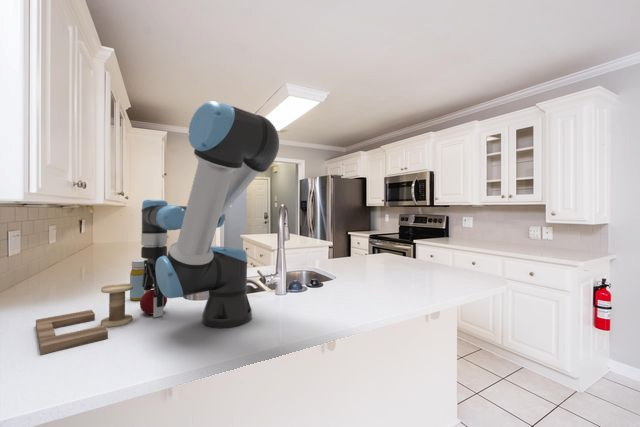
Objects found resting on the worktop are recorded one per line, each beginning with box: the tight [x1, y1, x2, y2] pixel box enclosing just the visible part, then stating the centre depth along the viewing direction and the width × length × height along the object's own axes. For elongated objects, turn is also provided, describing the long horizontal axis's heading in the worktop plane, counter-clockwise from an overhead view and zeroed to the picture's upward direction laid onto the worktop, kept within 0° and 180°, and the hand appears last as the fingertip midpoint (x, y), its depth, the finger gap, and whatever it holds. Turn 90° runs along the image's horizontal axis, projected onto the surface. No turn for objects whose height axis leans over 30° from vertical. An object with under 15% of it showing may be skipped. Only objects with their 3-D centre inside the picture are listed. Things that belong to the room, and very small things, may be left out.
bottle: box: [129, 258, 147, 302], centre depth 114 cm, size 7×7×15 cm
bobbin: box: [100, 282, 133, 328], centre depth 90 cm, size 8×8×11 cm
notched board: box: [35, 309, 109, 355], centre depth 82 cm, size 24×13×2 cm, turn 46°
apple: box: [139, 289, 168, 315], centre depth 98 cm, size 8×8×8 cm
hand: (153, 312), depth 98 cm, fingers open, 9 cm apart
